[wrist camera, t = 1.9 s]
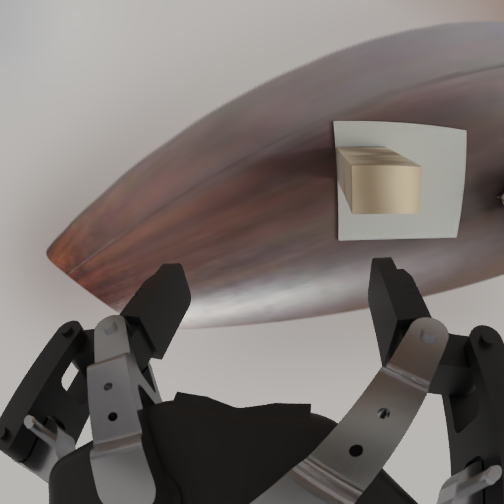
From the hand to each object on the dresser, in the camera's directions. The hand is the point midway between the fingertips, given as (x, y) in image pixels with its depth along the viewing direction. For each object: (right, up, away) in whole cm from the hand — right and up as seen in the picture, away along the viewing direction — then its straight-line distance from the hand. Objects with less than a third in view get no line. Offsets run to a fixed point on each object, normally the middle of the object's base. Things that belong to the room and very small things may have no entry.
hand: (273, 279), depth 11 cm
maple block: (+12, +11, +17) cm, 24 cm away
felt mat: (+18, +10, +17) cm, 27 cm away
